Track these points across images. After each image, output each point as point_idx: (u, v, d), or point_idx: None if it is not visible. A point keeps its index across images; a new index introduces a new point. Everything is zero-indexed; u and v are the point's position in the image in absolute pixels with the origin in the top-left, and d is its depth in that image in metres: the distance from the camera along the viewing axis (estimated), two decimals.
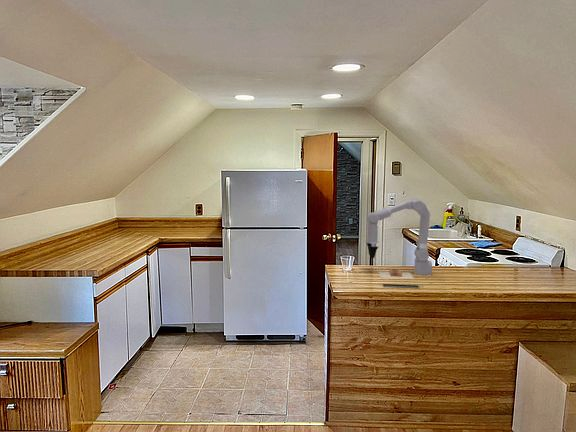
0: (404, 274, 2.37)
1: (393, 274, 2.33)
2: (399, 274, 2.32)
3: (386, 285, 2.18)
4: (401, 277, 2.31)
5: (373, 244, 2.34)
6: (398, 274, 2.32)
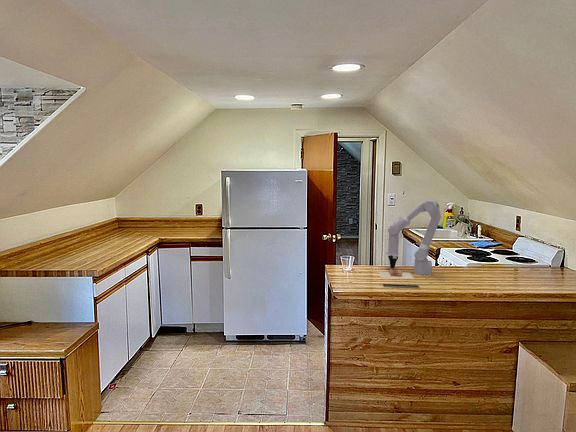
0: (404, 274, 2.37)
1: (393, 274, 2.33)
2: (399, 274, 2.32)
3: (386, 285, 2.18)
4: (401, 277, 2.31)
5: (394, 256, 2.40)
6: (398, 274, 2.32)
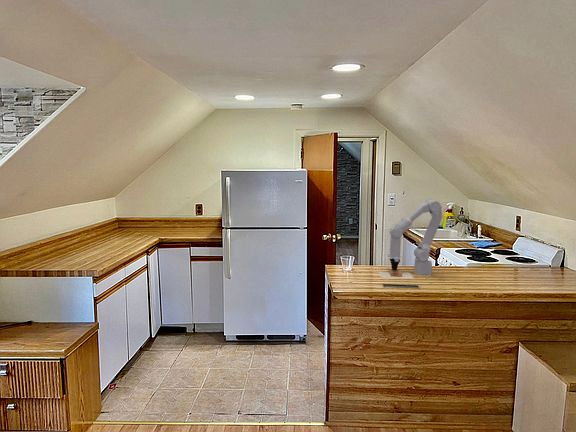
0: (404, 274, 2.37)
1: (393, 274, 2.32)
2: (399, 274, 2.32)
3: (386, 285, 2.18)
4: (401, 277, 2.31)
5: (396, 259, 2.33)
6: (398, 275, 2.32)
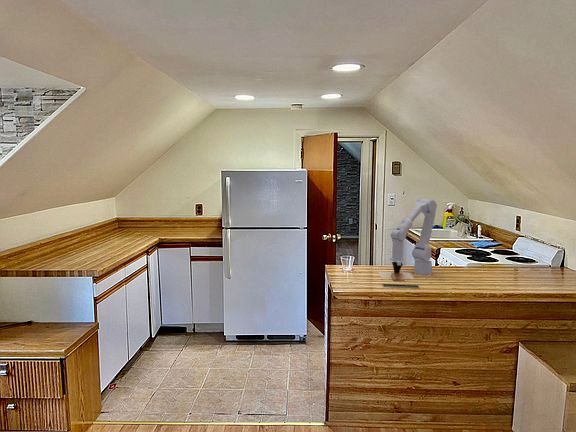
0: (404, 274, 2.37)
1: (395, 280, 2.24)
2: (402, 280, 2.23)
3: (386, 285, 2.18)
4: None
5: (399, 263, 2.24)
6: (401, 280, 2.23)
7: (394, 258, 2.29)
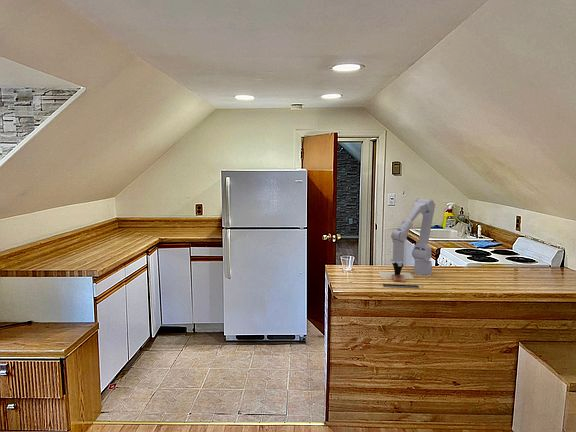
0: (404, 274, 2.37)
1: (396, 281, 2.22)
2: (402, 281, 2.21)
3: (386, 285, 2.18)
4: None
5: (400, 264, 2.22)
6: None
7: (395, 259, 2.27)
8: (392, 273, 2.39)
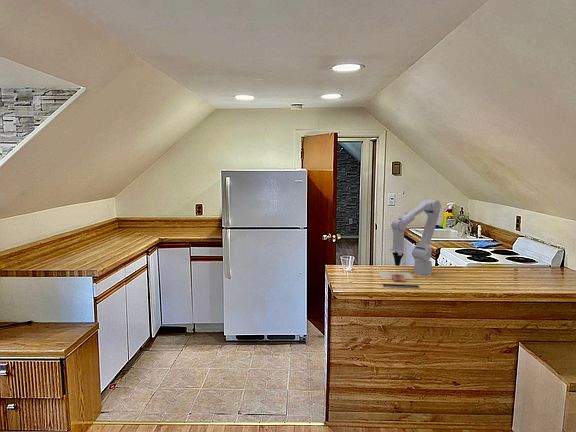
0: (404, 274, 2.37)
1: (396, 281, 2.21)
2: (402, 281, 2.21)
3: (386, 285, 2.18)
4: None
5: (400, 253, 2.23)
6: None
7: (395, 248, 2.28)
8: (392, 273, 2.39)
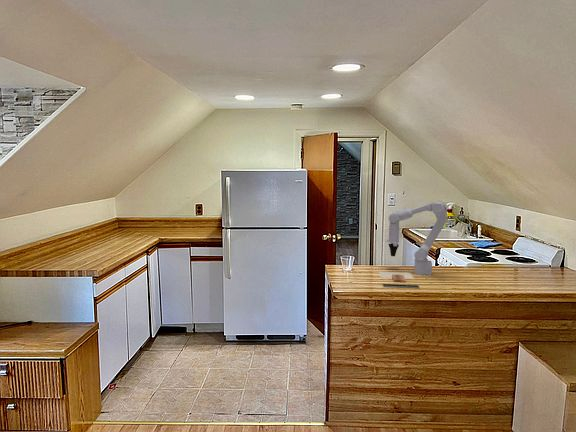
0: (404, 274, 2.37)
1: (396, 281, 2.21)
2: (402, 281, 2.21)
3: (386, 285, 2.18)
4: None
5: (395, 244, 2.39)
6: None
7: (390, 240, 2.44)
8: (392, 273, 2.39)
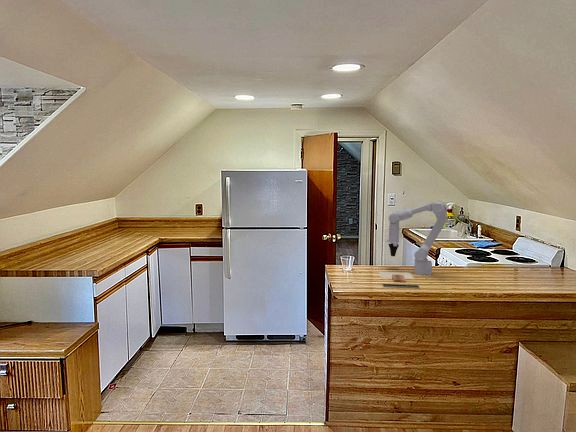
0: (404, 274, 2.37)
1: (396, 281, 2.21)
2: (402, 281, 2.21)
3: (386, 285, 2.18)
4: None
5: (395, 244, 2.39)
6: None
7: (390, 240, 2.44)
8: (392, 273, 2.39)
